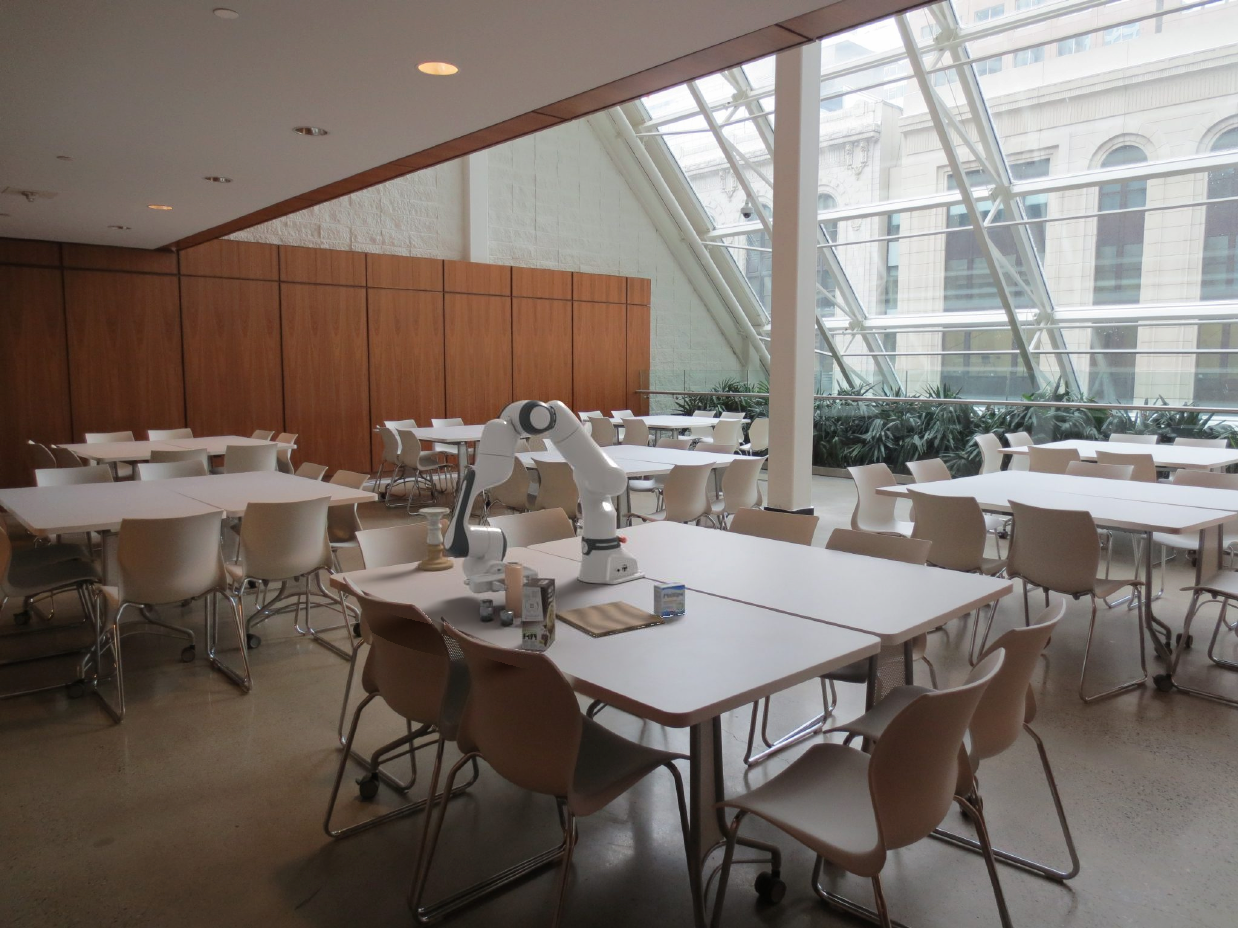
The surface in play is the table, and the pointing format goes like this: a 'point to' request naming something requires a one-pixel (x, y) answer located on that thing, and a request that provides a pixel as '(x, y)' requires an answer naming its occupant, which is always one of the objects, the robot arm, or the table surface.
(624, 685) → the table surface
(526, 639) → the coffee box
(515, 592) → the peach rounded cylinder
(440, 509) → the candle holder
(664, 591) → the medicine box
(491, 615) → the posts
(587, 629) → the walnut board
